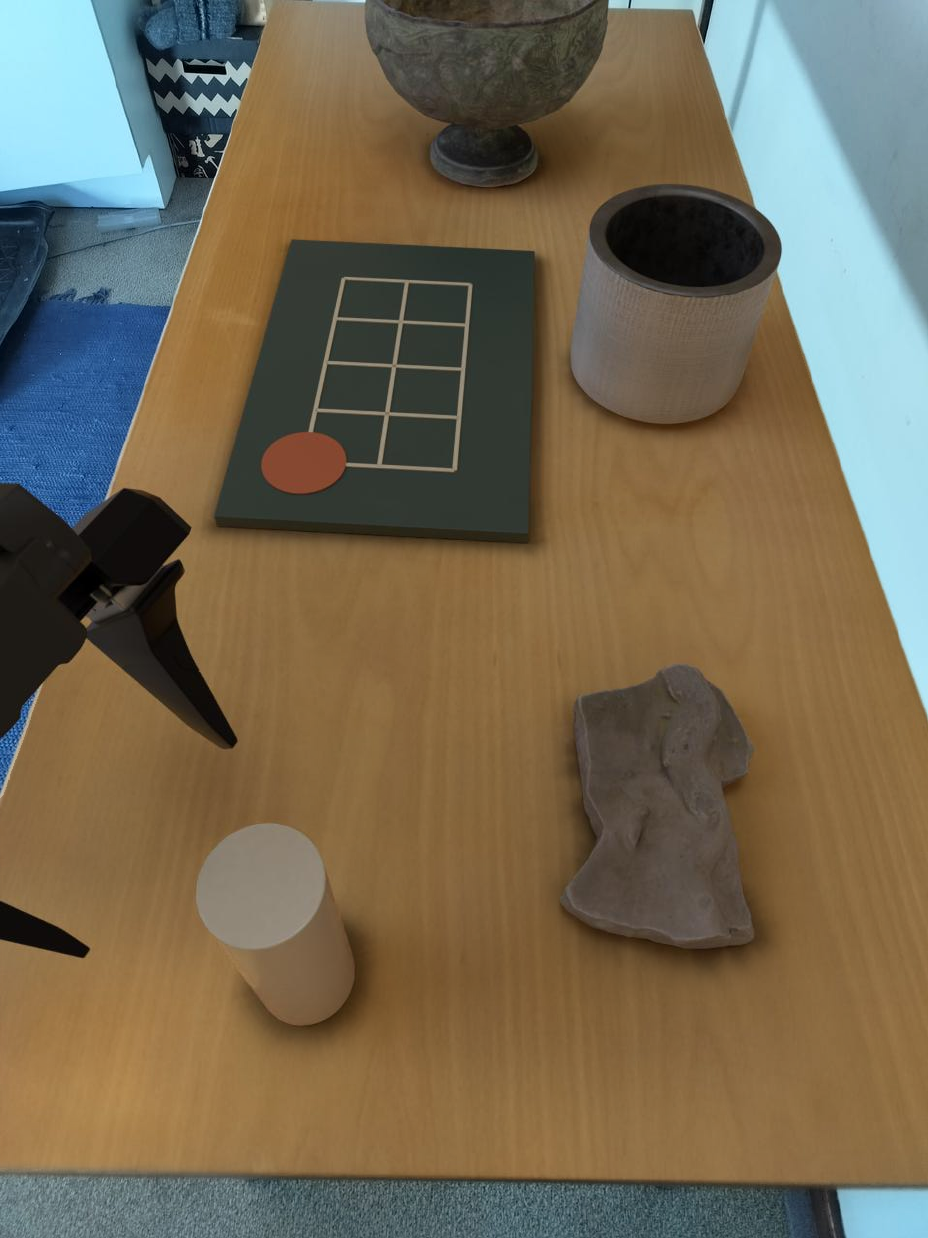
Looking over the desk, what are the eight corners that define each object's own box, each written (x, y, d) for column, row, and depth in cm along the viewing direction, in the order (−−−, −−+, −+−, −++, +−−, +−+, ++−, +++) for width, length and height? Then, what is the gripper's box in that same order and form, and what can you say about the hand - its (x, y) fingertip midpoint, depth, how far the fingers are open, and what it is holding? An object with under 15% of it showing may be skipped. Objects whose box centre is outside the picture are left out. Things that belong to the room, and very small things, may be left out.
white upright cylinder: (249, 1022, 42) (181, 945, 31) (266, 921, 45) (210, 818, 34) (348, 1029, 42) (315, 953, 31) (360, 927, 45) (333, 825, 34)
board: (216, 526, 59) (213, 514, 58) (292, 249, 76) (290, 237, 75) (527, 543, 58) (529, 531, 58) (534, 261, 75) (535, 248, 75)
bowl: (590, 108, 90) (613, -74, 77) (588, 221, 79) (614, 30, 66) (390, 96, 90) (381, -87, 78) (360, 206, 80) (345, 14, 67)
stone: (758, 971, 44) (784, 948, 40) (556, 945, 44) (565, 920, 41) (742, 703, 52) (762, 665, 49) (573, 684, 53) (581, 645, 49)
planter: (760, 425, 65) (812, 289, 56) (586, 438, 64) (610, 302, 55) (711, 313, 72) (750, 176, 63) (554, 323, 71) (571, 185, 62)
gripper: (-573, 820, 18) (68, 1157, 24) (63, 293, 28) (402, 635, 34) (-492, 811, 26) (-31, 1063, 33) (-26, 409, 36) (260, 665, 42)
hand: (162, 842), depth 35 cm, fingers open, 9 cm apart
